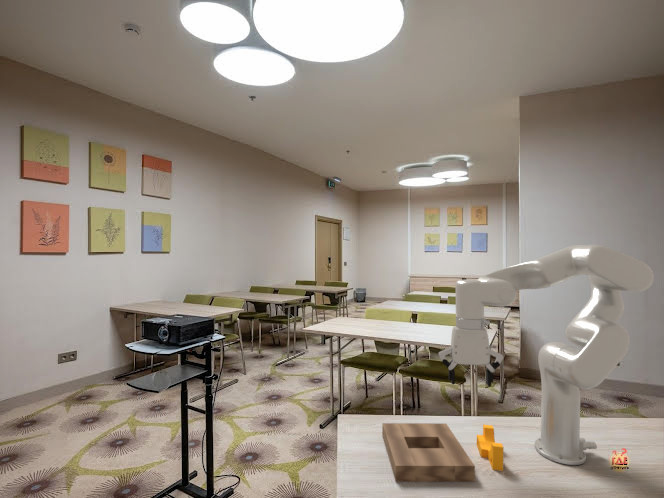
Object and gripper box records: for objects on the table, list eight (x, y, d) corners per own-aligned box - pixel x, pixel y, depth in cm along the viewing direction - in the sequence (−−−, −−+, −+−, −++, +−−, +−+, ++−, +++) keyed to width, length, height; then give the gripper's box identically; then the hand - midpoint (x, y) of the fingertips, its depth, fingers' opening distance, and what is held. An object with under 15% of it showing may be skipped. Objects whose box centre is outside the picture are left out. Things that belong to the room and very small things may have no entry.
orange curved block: (476, 445, 109) (476, 423, 109) (491, 447, 109) (492, 425, 108) (485, 469, 98) (486, 445, 98) (502, 471, 97) (503, 447, 97)
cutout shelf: (446, 436, 114) (446, 423, 114) (474, 481, 92) (474, 465, 92) (382, 436, 114) (382, 423, 114) (395, 481, 92) (395, 465, 92)
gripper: (499, 321, 105) (499, 380, 105) (437, 320, 109) (437, 377, 109) (506, 327, 98) (506, 390, 98) (439, 325, 101) (440, 386, 101)
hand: (470, 383), depth 103 cm, fingers open, 9 cm apart
